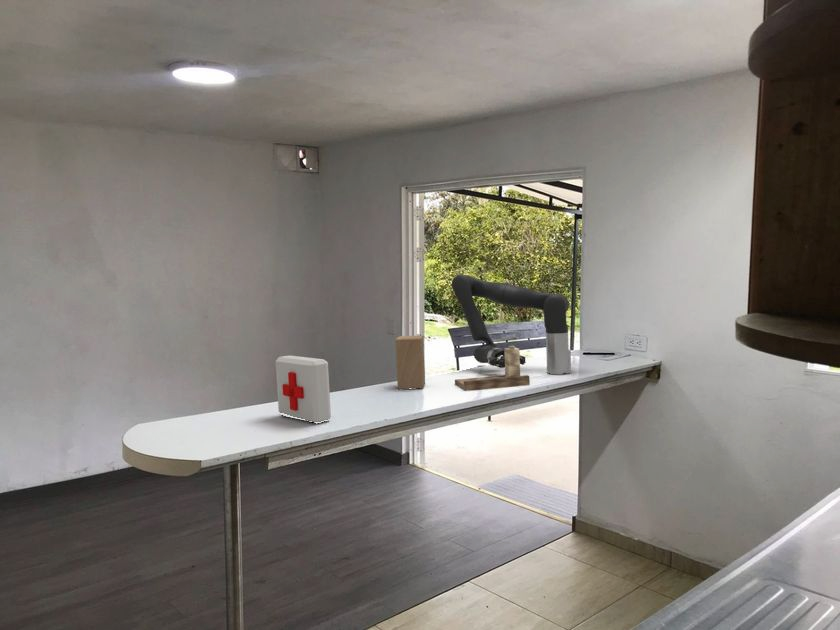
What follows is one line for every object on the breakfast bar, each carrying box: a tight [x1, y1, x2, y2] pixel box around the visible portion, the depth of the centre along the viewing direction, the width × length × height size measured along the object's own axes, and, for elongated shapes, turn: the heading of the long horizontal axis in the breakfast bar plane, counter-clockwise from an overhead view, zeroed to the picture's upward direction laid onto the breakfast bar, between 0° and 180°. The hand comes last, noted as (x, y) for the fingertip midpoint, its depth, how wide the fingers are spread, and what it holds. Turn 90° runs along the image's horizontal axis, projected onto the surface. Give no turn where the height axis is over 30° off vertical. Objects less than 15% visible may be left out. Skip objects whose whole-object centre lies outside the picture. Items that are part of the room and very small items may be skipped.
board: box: [454, 374, 531, 392], centre depth 259 cm, size 26×14×4 cm, turn 104°
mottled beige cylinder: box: [503, 345, 521, 377], centre depth 258 cm, size 4×4×13 cm
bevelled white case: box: [275, 355, 332, 422], centre depth 214 cm, size 21×8×20 cm, turn 46°
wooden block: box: [395, 335, 426, 390], centre depth 261 cm, size 10×10×20 cm
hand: (513, 362), depth 257 cm, fingers open, 8 cm apart
